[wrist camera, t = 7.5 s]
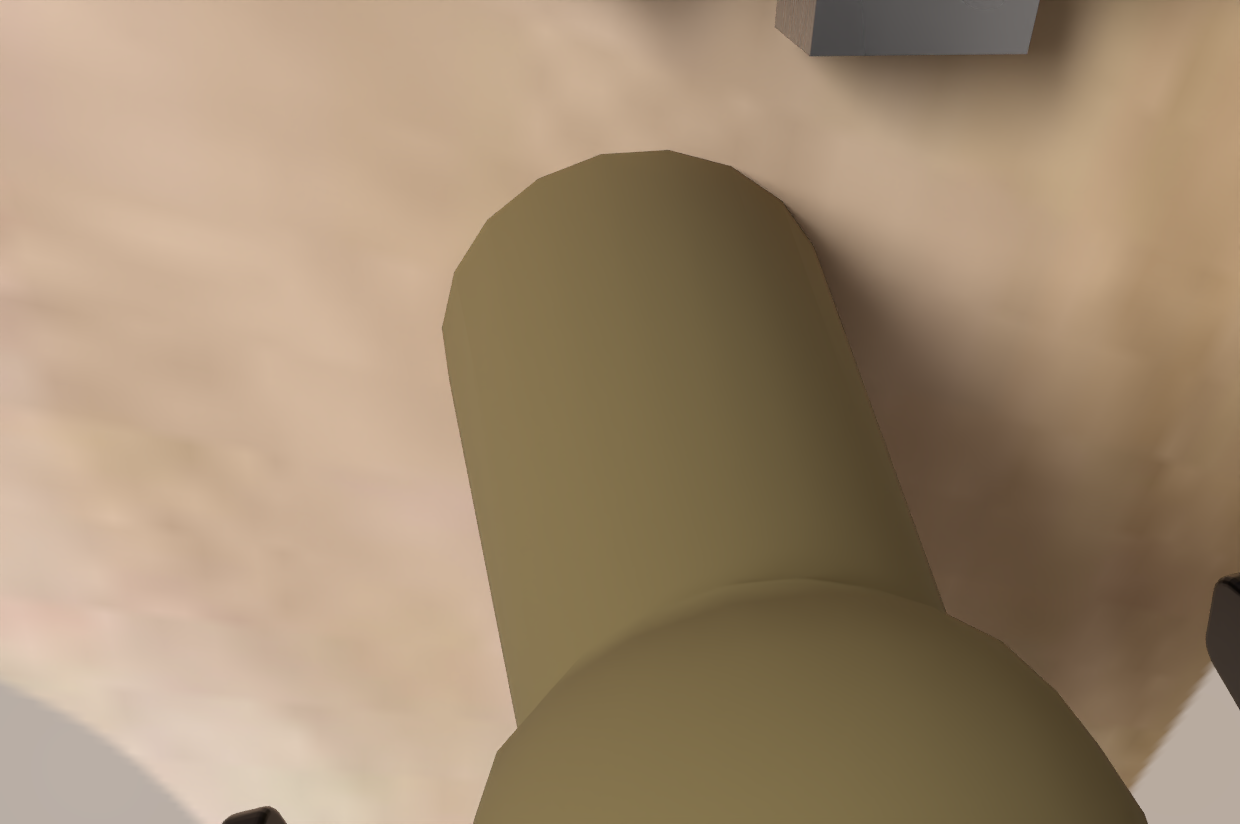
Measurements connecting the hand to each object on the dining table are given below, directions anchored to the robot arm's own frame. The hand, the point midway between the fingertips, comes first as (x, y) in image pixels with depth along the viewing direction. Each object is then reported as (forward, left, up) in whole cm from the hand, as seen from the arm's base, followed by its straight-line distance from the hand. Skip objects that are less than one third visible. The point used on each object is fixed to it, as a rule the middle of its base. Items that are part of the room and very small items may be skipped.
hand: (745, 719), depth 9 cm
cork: (0, 0, -8) cm, 8 cm away
